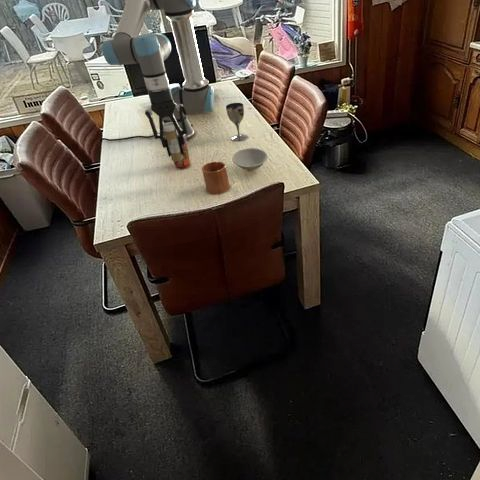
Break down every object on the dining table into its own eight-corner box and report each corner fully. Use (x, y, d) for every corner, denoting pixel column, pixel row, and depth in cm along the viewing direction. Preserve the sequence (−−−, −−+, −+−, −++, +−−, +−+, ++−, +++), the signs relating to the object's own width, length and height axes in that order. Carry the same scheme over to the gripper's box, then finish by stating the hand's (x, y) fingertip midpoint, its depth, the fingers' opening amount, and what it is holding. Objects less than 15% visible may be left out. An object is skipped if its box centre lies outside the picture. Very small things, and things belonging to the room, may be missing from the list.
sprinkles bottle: (170, 158, 148) (160, 123, 139) (181, 155, 149) (172, 120, 140) (173, 163, 145) (163, 127, 136) (185, 159, 146) (176, 124, 137)
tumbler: (203, 193, 147) (198, 172, 141) (211, 182, 153) (206, 161, 147) (225, 194, 145) (221, 172, 139) (232, 183, 152) (228, 161, 146)
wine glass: (245, 141, 181) (240, 108, 171) (229, 141, 183) (223, 108, 173) (249, 134, 187) (245, 102, 177) (233, 134, 189) (228, 102, 179)
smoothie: (183, 172, 162) (171, 124, 149) (169, 168, 166) (156, 122, 153) (196, 163, 168) (185, 117, 154) (182, 160, 171) (170, 114, 158)
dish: (231, 162, 166) (229, 151, 162) (264, 156, 167) (263, 145, 164) (237, 181, 152) (235, 169, 149) (272, 174, 154) (271, 163, 151)
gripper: (131, 95, 126) (153, 162, 142) (184, 87, 128) (199, 153, 144) (132, 89, 132) (153, 154, 147) (183, 81, 134) (198, 145, 149)
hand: (176, 153), depth 146 cm, fingers closed on sprinkles bottle, 4 cm apart
